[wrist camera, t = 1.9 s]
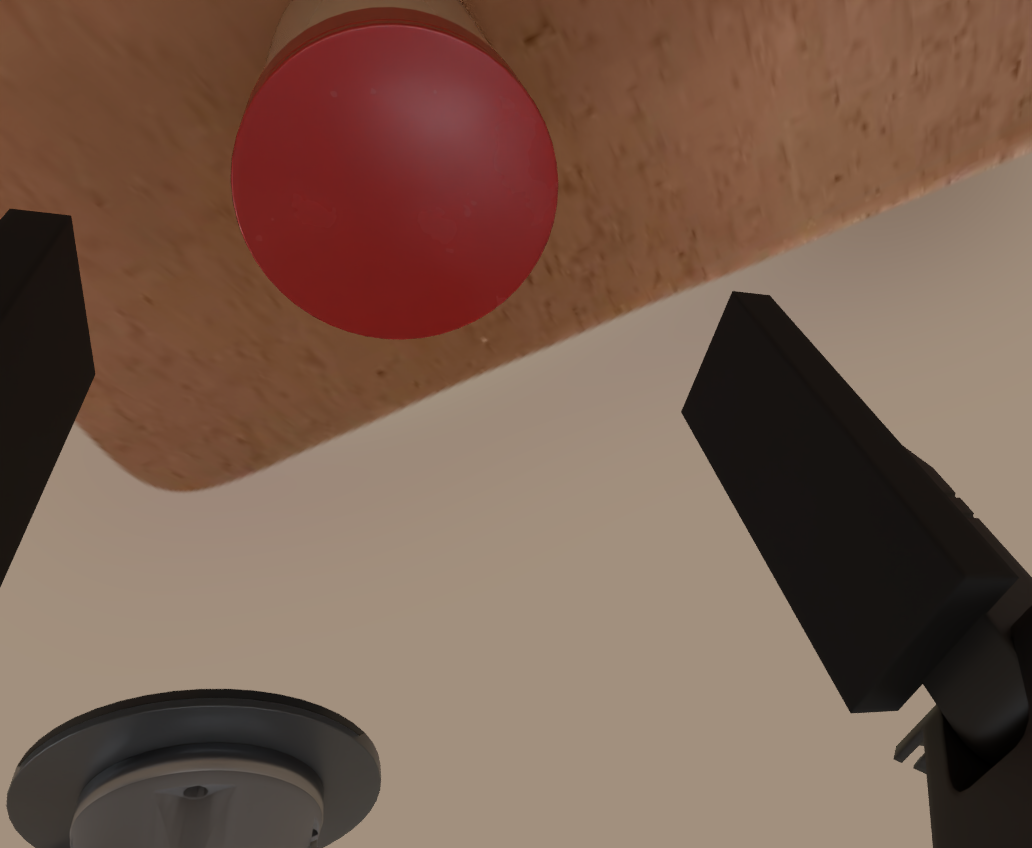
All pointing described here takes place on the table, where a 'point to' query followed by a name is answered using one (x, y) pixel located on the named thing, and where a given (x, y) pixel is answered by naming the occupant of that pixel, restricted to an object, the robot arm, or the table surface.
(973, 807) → the robot arm
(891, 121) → the table surface
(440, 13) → the beige jar
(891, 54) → the table surface
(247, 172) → the lid
